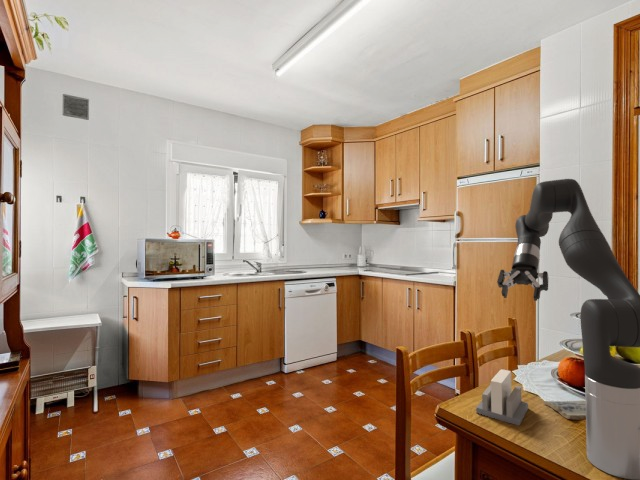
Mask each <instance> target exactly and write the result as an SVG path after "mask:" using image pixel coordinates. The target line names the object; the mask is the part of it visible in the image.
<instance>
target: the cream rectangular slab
mask: <svg viewBox="0 0 640 480" xmlns="http://www.w3.org/2000/svg"><path fill="white" fill-rule="evenodd" d="M490 384H491V412H494V413H497V414H501V415H502V414H503V413H504V411H505V410H506V408H507V406H506V400H507V399H508V397H509V396H510V394H511V393H512V372H511V370H508V369H504V368H503V369H499V371H498V372H497V373H496V374H495V375H494V376H493V378H492V379H491V380H490Z"/></svg>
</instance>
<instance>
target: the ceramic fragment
mask: <svg viewBox="0 0 640 480" xmlns="http://www.w3.org/2000/svg"><path fill="white" fill-rule="evenodd" d="M542 403H543V405H544V406H548V407H550V408H551V409H552V410H555V411H556V412H558V413H559V414H560V415H561V416H562V417H564V418H565V419H568V420H580V421H581V420H584V419H585V420H586V400H569V401H568V400H567V401H566V400H565V401H563V400H561V401H558V400H557V401H556V400H555V401H554V400H553V401H550V400H549V401H548V400H545V401H543V402H542Z"/></svg>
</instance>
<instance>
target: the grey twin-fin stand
mask: <svg viewBox="0 0 640 480" xmlns="http://www.w3.org/2000/svg"><path fill="white" fill-rule="evenodd" d="M481 395H482V396H481V401H480V402H479V404H478V405H477V406H476V407H475V411H476V412H475V413H476V414H477V413H479V414H478V415H481V414H482V416H484V415H485V417H487V416H488V417H487V418H492V419H494V418H495V420H498V421H502V422H504V423H508V424H513V425H514V426H518V427H519V426H520V425H521V423H522V421H523V419H524V417H525V415H527V412H528V410H529V403H528V402H525V401H523V400H522V386H519V385H515V386H514V388H513V390H511V394H510V396H509V397H508V399H507V400H506V406H507V408H506V410H505V411H504V413H503V414H502V415H501V414H497V413H494V412H491V383H490V384H489V385H488V386H487V388H486V389H485V390H484V391H483V392H482V394H481Z"/></svg>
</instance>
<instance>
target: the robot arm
mask: <svg viewBox="0 0 640 480" xmlns="http://www.w3.org/2000/svg"><path fill="white" fill-rule="evenodd" d="M586 199H587V198H586V197H585V195H584V192H583V189H582V187H581V185H580V183H579V182H578V181H577V179H572V178H564V179H563V178H562V179H554V180H545V181H541V182H538V183H537V184H536V185H535V186H534V189H533V191H532V195H531V200H530V205H529V211H528V212H527V214H524V215H523V214H522V215H521V216H519V217H518V218H517V219H516V220H515V226H514V228H515V231H516V235H517V244H516V249H515V251H514V255H513V260H512V264H511V269H510V271H505V269H500V272H499V274H498V277H497V280H496V283H497V285H498V288H500V289H501V295H502V297H503V299H507V298H508V292H509V289H510V288H511V287H514V286H515V285H524V286H529V285H530V286H531V287H532V288H534V290H533V301H536V302H537V301H538V300H540V298H541V292H542V291H544V292H547V291H548V290H549V273H548V271H545V270H544V271H542V272H539V271H538V269H539V263H540V258H541V257H540V256H541V255H540V253H541V252H540V250H541V244H542V241H541V238H543V237H545V236H546V235H547V234H548V232H549V229H550V222H551V221H552V219H553V214H554V213H565V212H566V213H567V212H568V213H570V215H571V216H569V217H570V218H569V220H568V221H567V223H566V224H565V226H564V228H563V229H562V231H561V232H560V235H559V238H558V246H559V249H560V251H561V254H562V257H563V260H564V262H565V264H566V265H567V266H568V267H569V268H570V269H571V270H572V271H573V272H574V273H575V274H577V275H578V276H580V277H581V278H583V279H584V281H587V282H588V283H590V284H591V285H593V286H594V287H595V288H597V289H598V290H600V291H601V292H602V293H603V294H604V295H605V297H606V298H607V299H606V298H594V299H593V298H591V299H587V300H585V301H584V302H583V303H582V305H581V308H580V319H579V320H580V331H581V339H582V343H581V344H582V356H583V357H582V358H583V363H584V386H585V387H584V388H585V390H584V391H585V392H584V394H585V401H586V418H585V430H586V431H585V432H586V434H585V435H586V436H585V438H586V445H585V449H586V458H587V460H588V462H589V463H591V464H592V465H593V466H594V467H595V468H597V469H599V470H601V471H602V472H604V473H606V474H609V475H610V476H611V475H612V476H614V477H617V478H622V479H625V480H640V367H639V366H638V365H635V364H633V363H632V362H631V363H630V362H628V361H626V360H622V359H620V358H617V357H615V356H614V355H612V354H611V349H610V347H620V348H621V347H623V348H640V293H639V291H638V290H637V289H636V288H635V286H634V285H633V284H632V282H631V281H630V280H629V278H628V276H627V275H626V274H625V272H624V270H623V268H622V267H621V265H620V264H619V262H618V260H617V258H616V257H615V254H614V252H613V250H612V248H611V245H610V244H609V242H608V241H607V238H606V237H605V235H604V234H603V232H602V230H601V229H600V227H599V225H598V224H597V221H596V220H595V217H594V216H593V214H592V212H591V209H590V208H589V204H588V202H587V200H586ZM508 276H509V277H508ZM538 278H540V280H542V284H540V283H539V282H538V281H537V279H538ZM505 279H506V280H505Z"/></svg>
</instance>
